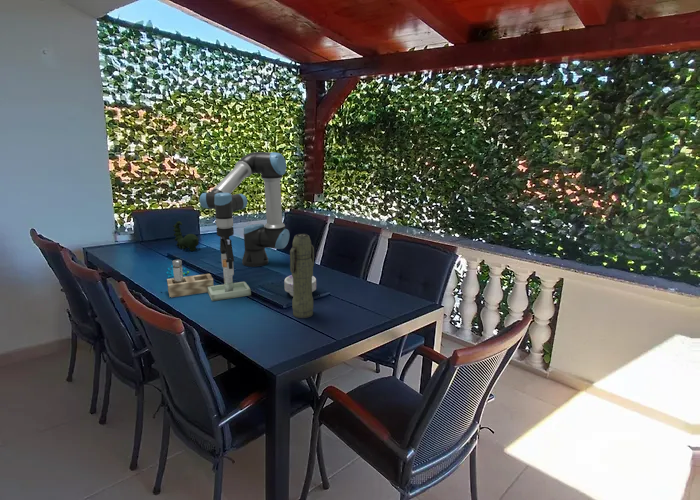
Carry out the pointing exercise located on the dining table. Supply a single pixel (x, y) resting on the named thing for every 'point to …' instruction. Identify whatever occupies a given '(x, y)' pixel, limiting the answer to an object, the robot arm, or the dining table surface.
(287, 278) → the paper bowls
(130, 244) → the dining table surface
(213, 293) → the tray
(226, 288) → the hitch pin
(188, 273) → the teal spiky toy
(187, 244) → the toy figurine
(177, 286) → the block
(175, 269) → the grey capped shaker
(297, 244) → the thermos
